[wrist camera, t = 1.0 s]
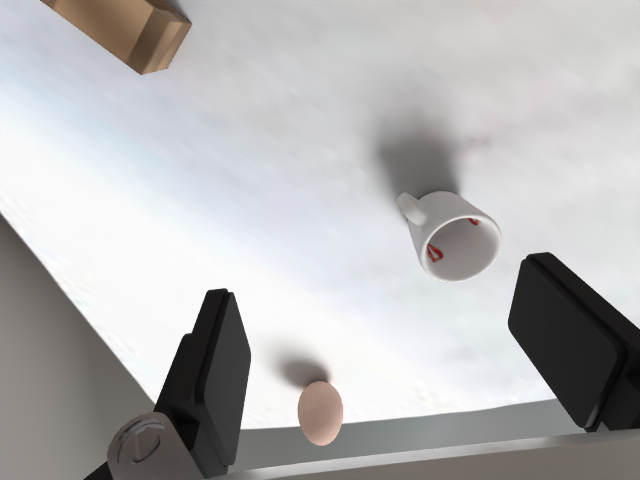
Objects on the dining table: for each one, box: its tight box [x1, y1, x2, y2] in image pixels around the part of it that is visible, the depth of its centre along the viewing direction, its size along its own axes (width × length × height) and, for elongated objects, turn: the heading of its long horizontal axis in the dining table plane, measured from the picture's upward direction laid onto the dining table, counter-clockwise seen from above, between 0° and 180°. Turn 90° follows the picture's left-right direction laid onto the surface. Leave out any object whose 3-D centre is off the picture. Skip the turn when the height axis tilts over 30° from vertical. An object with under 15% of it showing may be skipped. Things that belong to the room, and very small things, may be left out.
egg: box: [298, 381, 343, 445], centre depth 51 cm, size 7×7×9 cm
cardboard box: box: [40, 0, 192, 75], centre depth 27 cm, size 4×8×6 cm, turn 50°
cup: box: [396, 191, 502, 283], centre depth 36 cm, size 11×8×8 cm
